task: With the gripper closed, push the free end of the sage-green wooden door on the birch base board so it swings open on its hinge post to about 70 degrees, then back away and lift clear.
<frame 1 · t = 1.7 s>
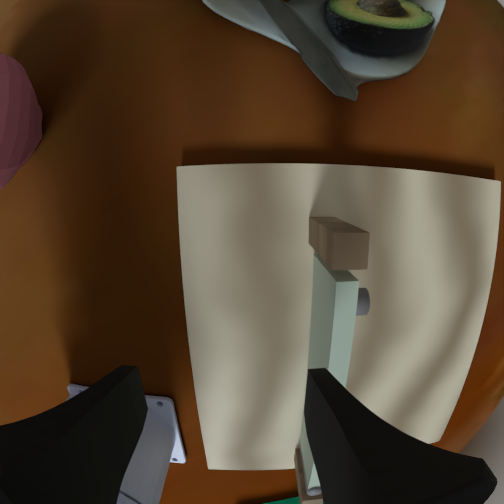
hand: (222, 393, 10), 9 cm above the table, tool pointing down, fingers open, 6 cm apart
apple: (29, 132, 17), on the table
door frame board: (354, 347, 20), on the table
door: (331, 392, 16), point 4 cm above the table, hinge at 0.0°
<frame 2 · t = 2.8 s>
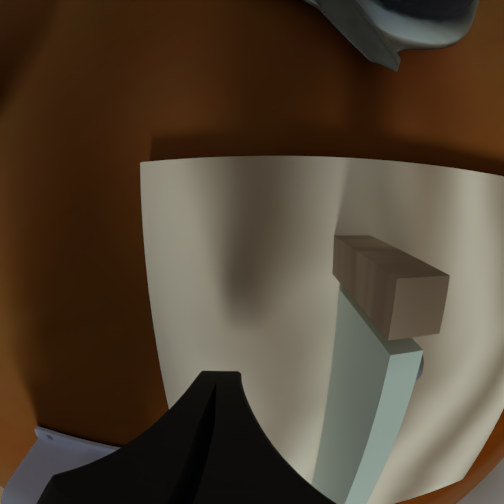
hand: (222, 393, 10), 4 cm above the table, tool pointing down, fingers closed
door frame board: (380, 398, 14), on the table
door: (354, 465, 11), point 4 cm above the table, hinge at 0.0°
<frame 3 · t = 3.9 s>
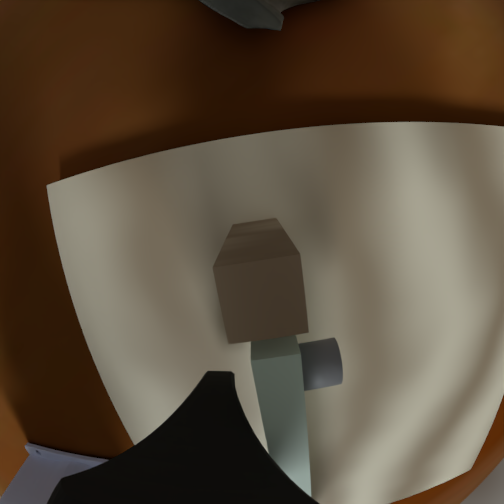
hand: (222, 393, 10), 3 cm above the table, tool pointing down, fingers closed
door frame board: (343, 396, 13), on the table
door: (306, 473, 10), point 4 cm above the table, hinge at 0.3°, touching gripper
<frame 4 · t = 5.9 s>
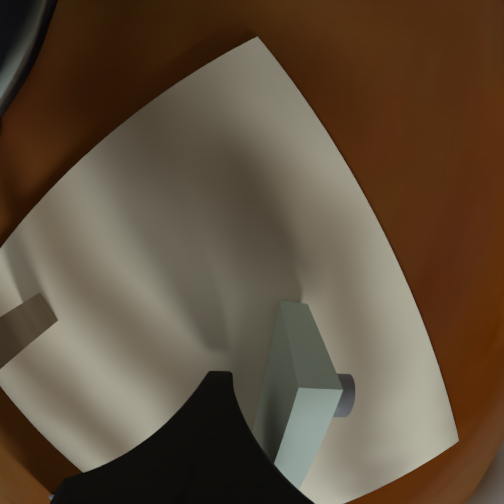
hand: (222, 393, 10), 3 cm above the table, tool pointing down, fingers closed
door frame board: (199, 412, 14), on the table
door: (273, 488, 10), point 4 cm above the table, hinge at 41.3°, touching gripper
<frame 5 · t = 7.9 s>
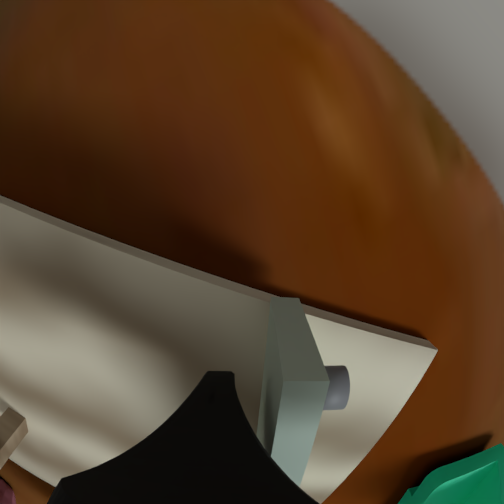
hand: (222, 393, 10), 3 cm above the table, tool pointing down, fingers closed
apple: (2, 480, 18), on the table
door frame board: (138, 439, 14), on the table
door: (281, 485, 10), point 4 cm above the table, hinge at 74.7°, touching gripper
camera mount: (433, 489, 17), on the table
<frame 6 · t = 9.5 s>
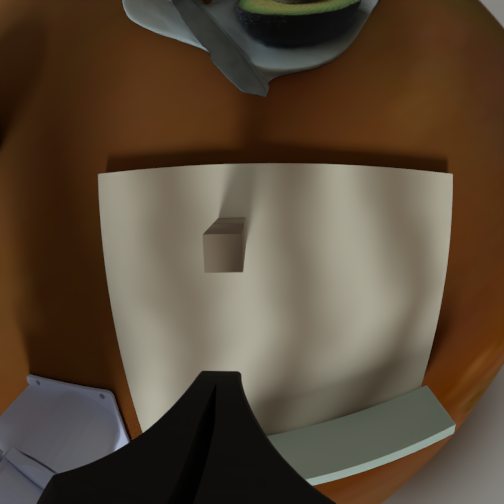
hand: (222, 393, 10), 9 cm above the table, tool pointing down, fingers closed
door frame board: (282, 352, 20), on the table
door: (341, 451, 18), point 4 cm above the table, hinge at 74.7°
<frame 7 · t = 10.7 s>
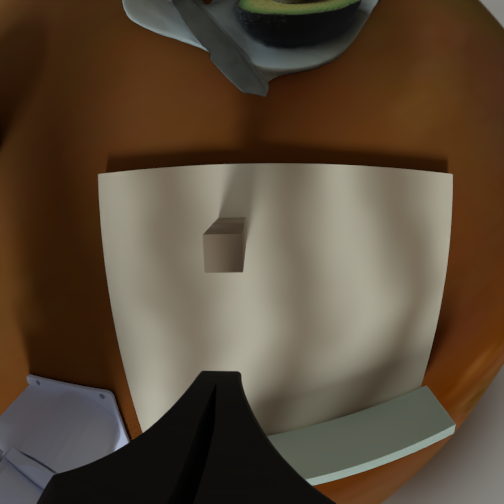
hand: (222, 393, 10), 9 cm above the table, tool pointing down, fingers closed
door frame board: (282, 352, 20), on the table
door: (341, 451, 18), point 4 cm above the table, hinge at 74.7°
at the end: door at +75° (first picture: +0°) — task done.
